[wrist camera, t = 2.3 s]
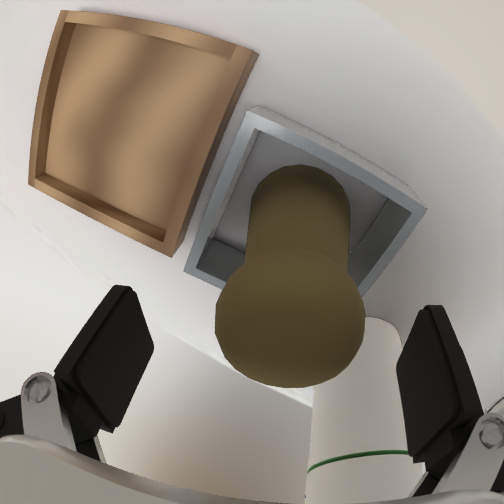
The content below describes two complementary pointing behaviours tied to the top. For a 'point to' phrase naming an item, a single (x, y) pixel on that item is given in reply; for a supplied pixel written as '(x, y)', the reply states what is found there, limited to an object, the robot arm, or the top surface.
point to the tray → (133, 121)
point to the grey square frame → (261, 119)
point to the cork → (293, 285)
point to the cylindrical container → (361, 428)
